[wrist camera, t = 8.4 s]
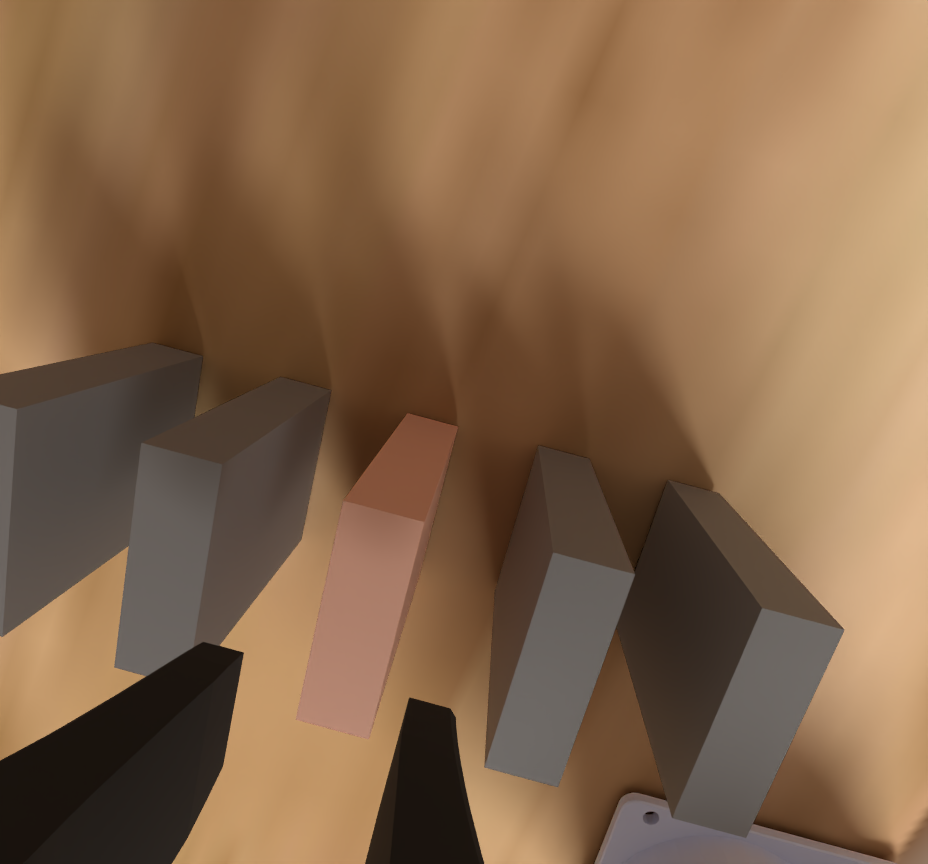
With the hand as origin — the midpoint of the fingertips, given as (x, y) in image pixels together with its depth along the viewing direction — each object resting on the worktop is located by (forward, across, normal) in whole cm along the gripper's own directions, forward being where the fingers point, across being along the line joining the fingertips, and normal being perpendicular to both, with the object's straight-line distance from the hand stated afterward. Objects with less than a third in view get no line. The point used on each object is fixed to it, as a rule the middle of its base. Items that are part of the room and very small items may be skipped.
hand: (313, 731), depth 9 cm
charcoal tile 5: (+10, -8, 0) cm, 12 cm away
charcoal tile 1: (+10, +8, 0) cm, 12 cm away
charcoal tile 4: (+10, -4, 0) cm, 11 cm away
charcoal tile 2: (+10, +4, 0) cm, 11 cm away
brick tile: (+10, 0, 0) cm, 10 cm away
